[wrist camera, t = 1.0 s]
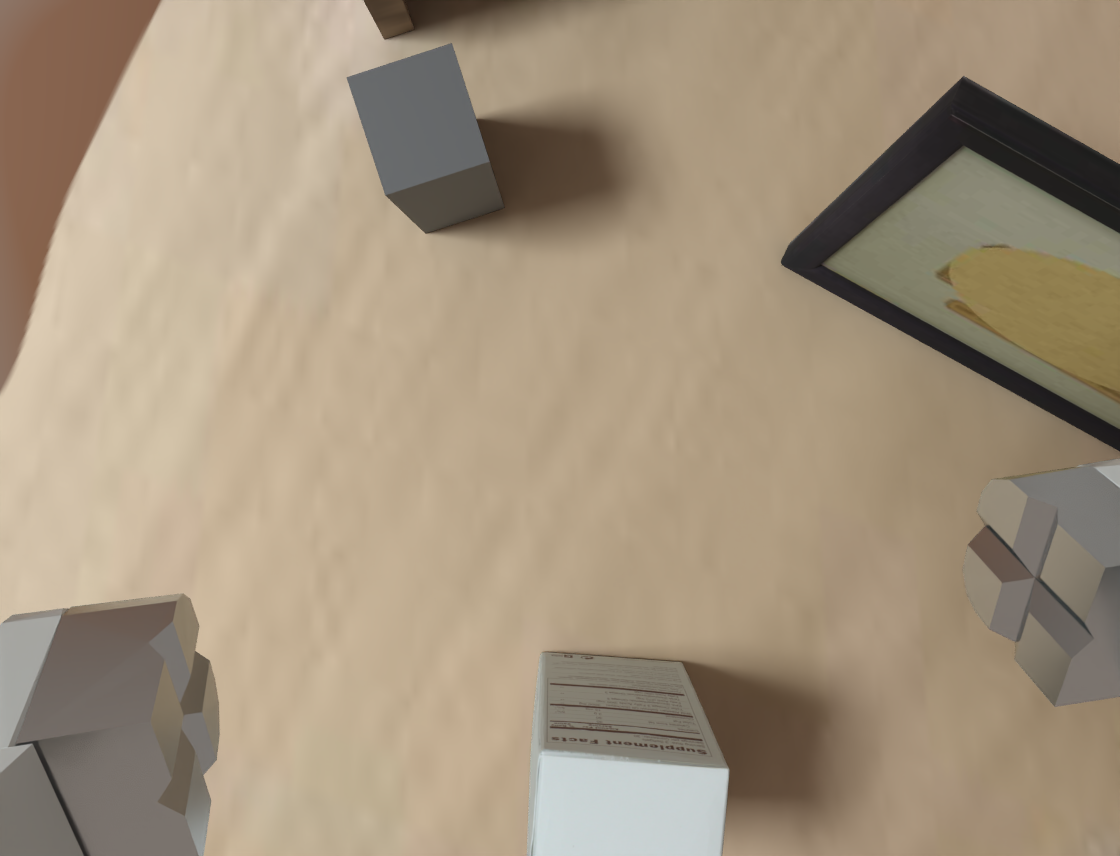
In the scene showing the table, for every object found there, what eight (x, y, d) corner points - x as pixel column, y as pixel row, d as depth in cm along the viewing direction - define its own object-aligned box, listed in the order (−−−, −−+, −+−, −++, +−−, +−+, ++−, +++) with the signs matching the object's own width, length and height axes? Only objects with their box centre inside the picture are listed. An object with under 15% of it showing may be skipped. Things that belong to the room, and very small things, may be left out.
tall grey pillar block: (474, 114, 45) (449, 37, 34) (504, 207, 45) (489, 161, 34) (395, 140, 45) (344, 71, 34) (425, 233, 45) (385, 195, 34)
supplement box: (672, 799, 48) (715, 959, 35) (526, 787, 48) (516, 943, 35) (687, 657, 47) (736, 768, 35) (539, 644, 47) (534, 751, 34)
